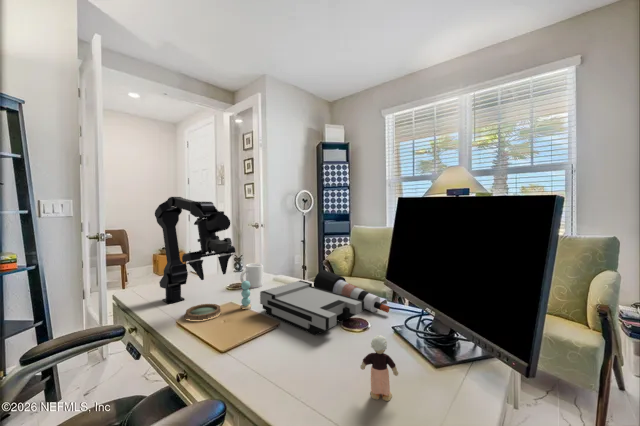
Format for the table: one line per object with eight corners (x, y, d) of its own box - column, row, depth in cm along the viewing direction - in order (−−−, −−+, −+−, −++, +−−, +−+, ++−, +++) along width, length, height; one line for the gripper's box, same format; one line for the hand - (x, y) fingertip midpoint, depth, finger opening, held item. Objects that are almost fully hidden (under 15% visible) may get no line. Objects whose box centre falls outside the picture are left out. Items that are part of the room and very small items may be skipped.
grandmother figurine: (394, 389, 60) (395, 332, 59) (399, 402, 56) (399, 341, 55) (359, 388, 60) (359, 331, 60) (361, 401, 56) (361, 340, 56)
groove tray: (179, 315, 99) (179, 310, 99) (210, 306, 108) (210, 301, 108) (194, 325, 91) (194, 319, 91) (227, 314, 100) (227, 308, 100)
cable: (382, 329, 98) (378, 309, 94) (317, 296, 122) (311, 279, 118) (397, 310, 104) (393, 290, 100) (331, 282, 128) (326, 265, 124)
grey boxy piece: (325, 342, 81) (325, 315, 80) (260, 313, 102) (260, 291, 102) (364, 320, 96) (364, 297, 96) (300, 299, 117) (300, 280, 117)
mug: (245, 291, 127) (245, 269, 127) (235, 287, 133) (235, 266, 132) (266, 285, 136) (266, 264, 136) (256, 282, 141) (256, 262, 141)
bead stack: (238, 308, 106) (238, 280, 106) (247, 305, 109) (247, 278, 109) (244, 310, 104) (244, 282, 103) (253, 307, 106) (252, 280, 106)
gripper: (197, 233, 89) (204, 281, 87) (241, 229, 105) (248, 269, 103) (178, 238, 95) (184, 283, 93) (223, 233, 110) (229, 272, 109)
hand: (213, 277), depth 100 cm, fingers open, 9 cm apart
